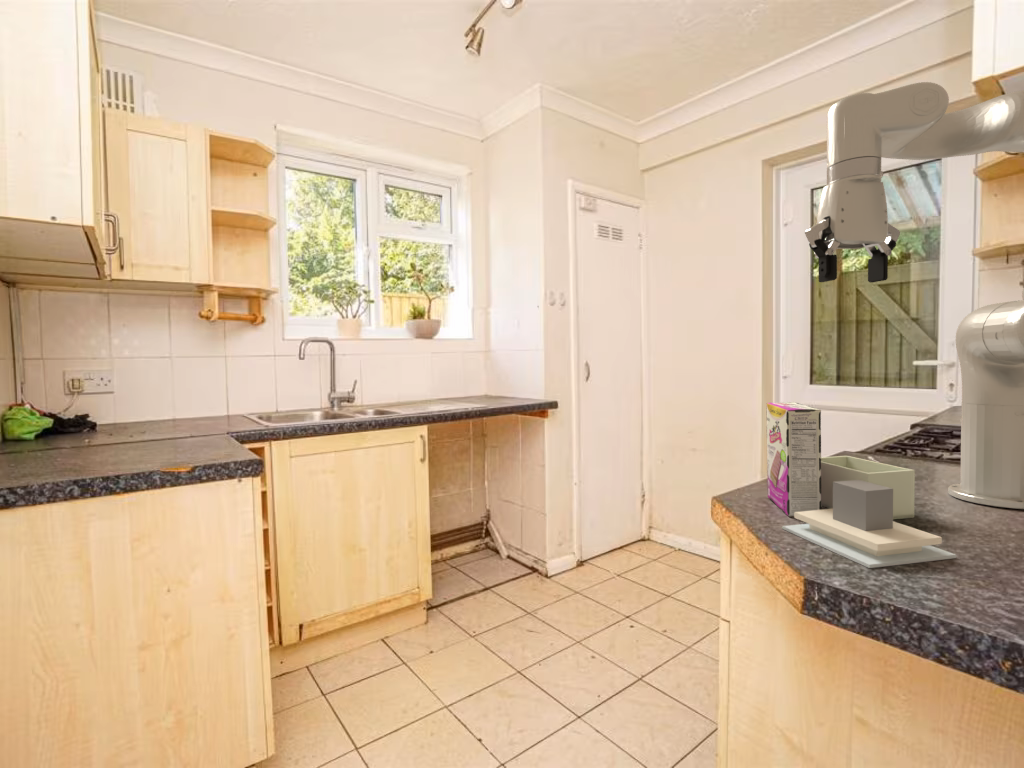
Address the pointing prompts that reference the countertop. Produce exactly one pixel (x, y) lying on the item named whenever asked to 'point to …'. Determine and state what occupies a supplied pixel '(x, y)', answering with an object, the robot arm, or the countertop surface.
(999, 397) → the robot arm
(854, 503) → the lid
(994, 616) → the countertop surface
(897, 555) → the board
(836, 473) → the tub
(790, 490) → the candy bar box
